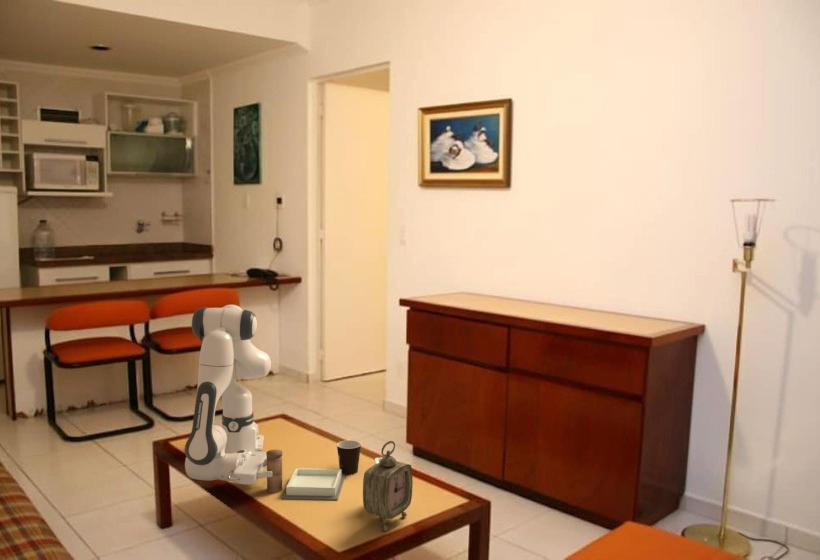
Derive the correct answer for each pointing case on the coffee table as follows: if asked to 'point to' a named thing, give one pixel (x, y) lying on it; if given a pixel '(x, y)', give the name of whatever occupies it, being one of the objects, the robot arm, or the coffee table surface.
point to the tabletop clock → (387, 487)
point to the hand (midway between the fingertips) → (275, 468)
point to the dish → (314, 482)
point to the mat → (303, 497)
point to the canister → (274, 471)
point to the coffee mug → (349, 456)
